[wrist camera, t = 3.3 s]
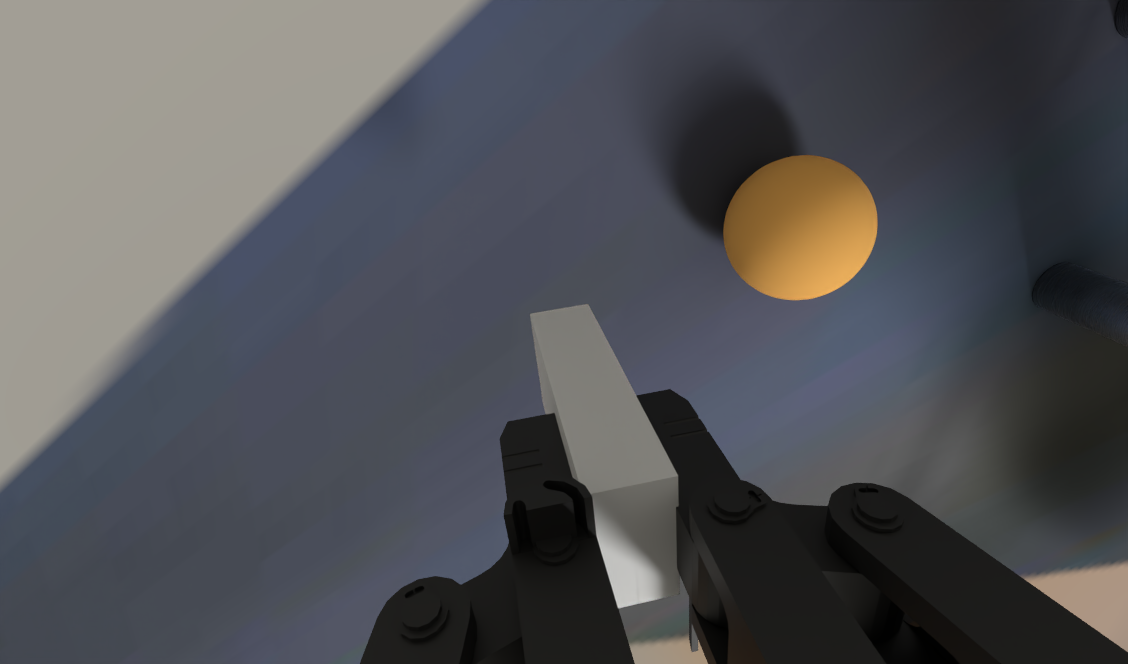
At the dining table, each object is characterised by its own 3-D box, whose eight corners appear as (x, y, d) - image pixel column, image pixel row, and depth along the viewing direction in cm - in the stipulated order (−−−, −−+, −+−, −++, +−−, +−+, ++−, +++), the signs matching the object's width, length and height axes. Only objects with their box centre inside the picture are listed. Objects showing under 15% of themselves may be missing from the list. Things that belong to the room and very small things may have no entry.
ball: (817, 261, 26) (898, 310, 21) (701, 280, 26) (758, 334, 21) (830, 136, 24) (926, 159, 19) (702, 154, 23) (767, 183, 18)
